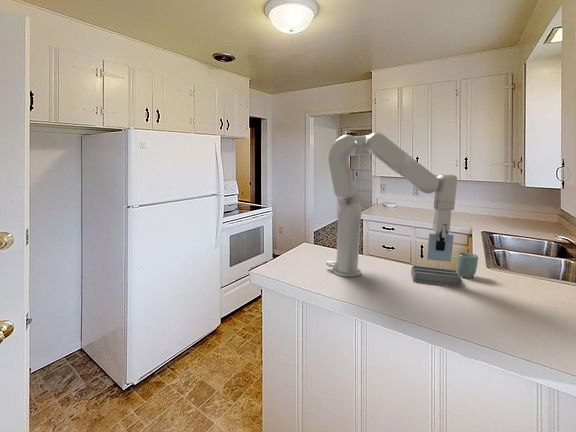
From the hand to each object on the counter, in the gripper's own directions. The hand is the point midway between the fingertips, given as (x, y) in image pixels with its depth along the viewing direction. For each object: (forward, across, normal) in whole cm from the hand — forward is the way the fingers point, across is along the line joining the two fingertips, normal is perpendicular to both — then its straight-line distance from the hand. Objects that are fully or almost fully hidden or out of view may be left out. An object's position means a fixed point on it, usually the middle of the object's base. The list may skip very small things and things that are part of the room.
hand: (439, 249), depth 129 cm
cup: (+14, -12, +14) cm, 23 cm away
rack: (+14, -2, 0) cm, 14 cm away
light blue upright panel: (+5, 0, 0) cm, 5 cm away
